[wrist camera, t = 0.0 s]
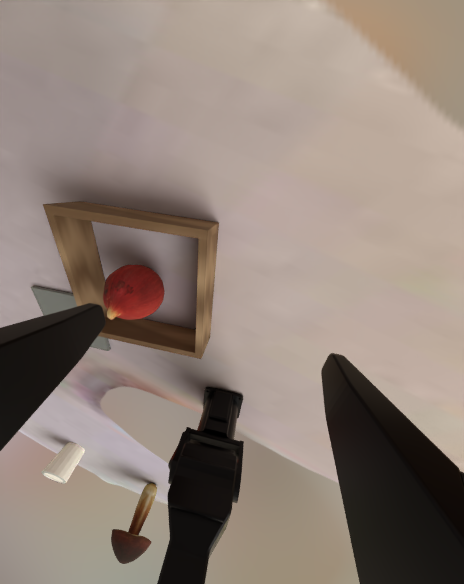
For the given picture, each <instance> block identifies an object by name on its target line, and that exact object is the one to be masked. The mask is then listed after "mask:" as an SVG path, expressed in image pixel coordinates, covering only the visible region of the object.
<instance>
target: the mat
mask: <svg viewBox="0 0 464 584" xmlns="http://www.w3.org/2000/svg"><path fill="white" fill-rule="evenodd" d="M31 289H32V291H33V293H34V295H35V297H36V300H37V302H38V304H39V306H40V308H41V311H42V313H43V315H44V316H45V315H48V314H52V313H56V312H59V311H63V310H66V309H70V308H74V307H77V304H76V301H75V298H74V295H73V294H72V293H67V292H63V291H58V290H53V289H48V288H43V287H38V286H33V287H31ZM90 347H93V348H97V349H102V350H106V351H109V350H110V345H109V342H108V338H105V337H100V336H97V338H96V339H95V340H94V342H93V343H92V345H91V346H90Z"/></svg>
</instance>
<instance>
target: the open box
mask: <svg viewBox="0 0 464 584" xmlns="http://www.w3.org/2000/svg"><path fill="white" fill-rule="evenodd" d="M43 206H44V209H45V212H46V215H47V218H48V221H49V224H50V227H51V230H52V233H53V236H54V239H55V242H56V245H57V248H58V251H59V254H60V257H61V259H62V262H63V265H64V268H65V271H66V274H67V277H68V280H69V283H70V286H71V289H72V292H73V295H74V298H75V301H76V304H77V306H81V305H84V304H88V303H93V304H98V305H101V306H102V308H103V312H104V315H105V319H106V324H105V327H104V328H103V329H102V331H101V332H100V334H99V335H98V336H100V337H105V338H109V339H114V340H118V341H123V342H127V343H132V344H136V345H141V346H145V347H150V348H154V349H159V350H163V351H168V352H172V353H177V354H181V355H186V356H190V357H195V358H199V359H201V358H202V356H203V353H204V351H205V348H206V346H207V343H208V341H209V338H210V330H211V317H212V304H213V291H214V278H215V266H216V253H217V240H218V227H219V223H218V222H211V221H205V220H198V219H192V218H185V217H178V216H172V215H165V214H159V213H152V212H146V211H139V210H133V209H126V208H120V207H113V206H107V205H100V204H94V203H87V202H81V201H78V202H66V203H54V204H43ZM91 221H94V222H100V223H106V224H112V225H119V226H125V227H131V228H137V229H143V230H149V231H155V232H162V233H168V234H174V235H180V236H186V237H192V238H198V239H199V240H198V274H197V309H196V330H194V329H189V328H184V327H180V326H175V325H170V324H165V323H160V322H156V321H151V320H146V319H134V320H126V319H122V318H118V317H115V318H114V319H113V320H111V319H109V318H108V317H107V308H106V307H105V305H104V301H103V293H104V286H105V279H104V275H103V270H102V266H101V262H100V258H99V253H98V249H97V245H96V240H95V236H94V232H93V228H92V223H91Z"/></svg>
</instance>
